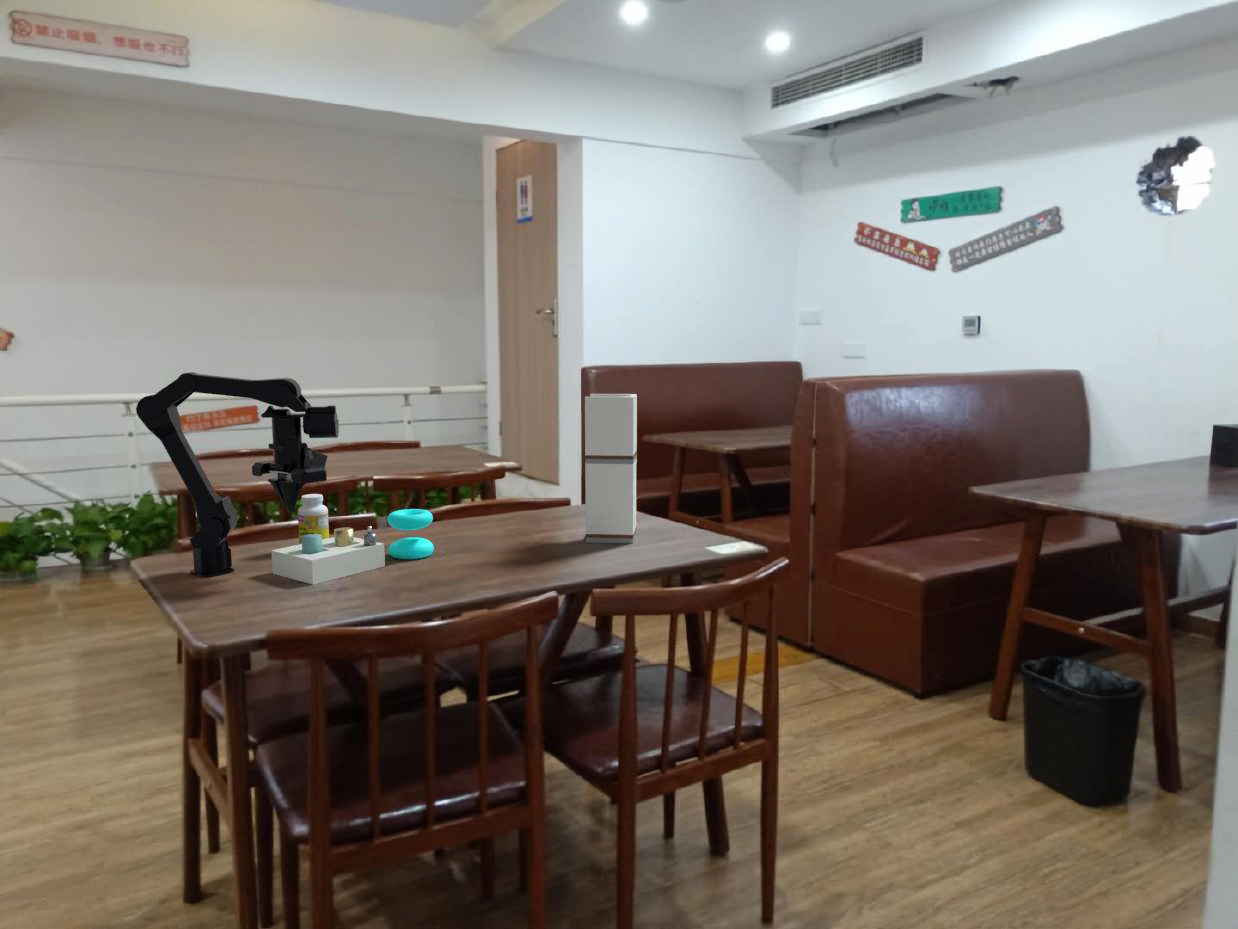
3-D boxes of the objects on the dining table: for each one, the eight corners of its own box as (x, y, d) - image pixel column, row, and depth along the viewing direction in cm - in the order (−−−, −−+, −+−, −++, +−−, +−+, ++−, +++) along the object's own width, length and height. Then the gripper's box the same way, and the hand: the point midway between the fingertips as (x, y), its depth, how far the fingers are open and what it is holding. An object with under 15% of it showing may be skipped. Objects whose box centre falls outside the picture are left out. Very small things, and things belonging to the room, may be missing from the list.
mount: (313, 584, 182) (311, 560, 182) (272, 573, 191) (271, 550, 190) (384, 566, 197) (384, 543, 196) (344, 556, 205) (343, 535, 204)
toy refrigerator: (636, 533, 228) (636, 394, 223) (633, 543, 218) (633, 397, 213) (591, 532, 229) (590, 393, 224) (585, 542, 219) (584, 396, 214)
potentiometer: (369, 546, 193) (368, 528, 192) (361, 545, 195) (360, 526, 194) (378, 544, 195) (378, 526, 194) (371, 542, 197) (370, 524, 196)
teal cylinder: (310, 572, 187) (309, 539, 186) (299, 569, 190) (297, 536, 189) (327, 568, 191) (325, 535, 190) (315, 565, 193) (314, 533, 192)
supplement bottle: (293, 551, 210) (290, 496, 208) (315, 545, 216) (312, 492, 214) (314, 554, 207) (311, 499, 205) (335, 548, 213) (333, 494, 211)
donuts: (378, 515, 201) (401, 506, 211) (380, 559, 203) (402, 549, 212) (419, 517, 199) (440, 509, 208) (421, 562, 200) (441, 551, 210)
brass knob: (343, 564, 194) (341, 532, 193) (331, 561, 196) (330, 529, 195) (358, 560, 197) (357, 529, 196) (347, 558, 199) (345, 526, 198)
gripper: (347, 438, 191) (350, 511, 193) (295, 432, 202) (298, 501, 204) (300, 443, 182) (304, 519, 185) (248, 436, 193) (252, 508, 196)
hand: (290, 511), depth 193 cm, fingers closed
